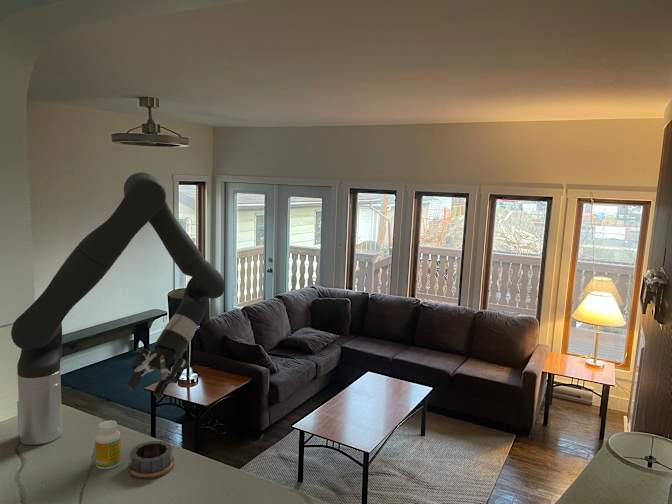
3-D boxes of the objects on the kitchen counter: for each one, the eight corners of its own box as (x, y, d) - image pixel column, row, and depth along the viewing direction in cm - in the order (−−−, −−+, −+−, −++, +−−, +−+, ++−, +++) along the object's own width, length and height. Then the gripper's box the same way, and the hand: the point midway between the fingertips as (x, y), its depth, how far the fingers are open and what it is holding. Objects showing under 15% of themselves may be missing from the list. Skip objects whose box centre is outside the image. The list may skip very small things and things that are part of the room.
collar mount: (118, 471, 115) (118, 454, 114) (152, 451, 124) (152, 436, 123) (150, 484, 110) (150, 467, 110) (183, 462, 119) (183, 446, 119)
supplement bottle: (111, 471, 115) (110, 431, 113) (90, 468, 116) (89, 427, 114) (125, 459, 120) (125, 420, 119) (105, 456, 121) (105, 417, 120)
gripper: (149, 324, 134) (113, 379, 126) (190, 332, 128) (156, 391, 119) (164, 338, 140) (131, 392, 131) (204, 347, 133) (172, 404, 125)
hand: (143, 391), depth 125 cm, fingers open, 8 cm apart
